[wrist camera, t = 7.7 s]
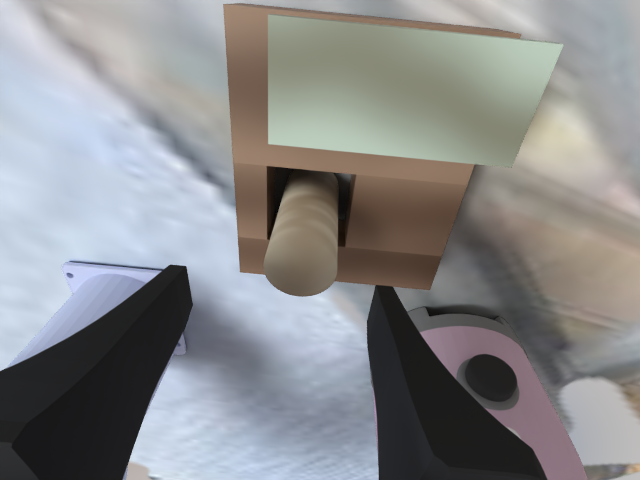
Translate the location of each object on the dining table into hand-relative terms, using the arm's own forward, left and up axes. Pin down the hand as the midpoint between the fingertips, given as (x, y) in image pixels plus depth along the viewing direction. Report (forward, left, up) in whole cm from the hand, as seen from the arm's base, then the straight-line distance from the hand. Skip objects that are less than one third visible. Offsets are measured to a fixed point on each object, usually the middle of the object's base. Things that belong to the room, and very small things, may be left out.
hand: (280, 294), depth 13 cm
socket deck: (+2, -3, -10) cm, 10 cm away
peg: (0, -1, -10) cm, 10 cm away
